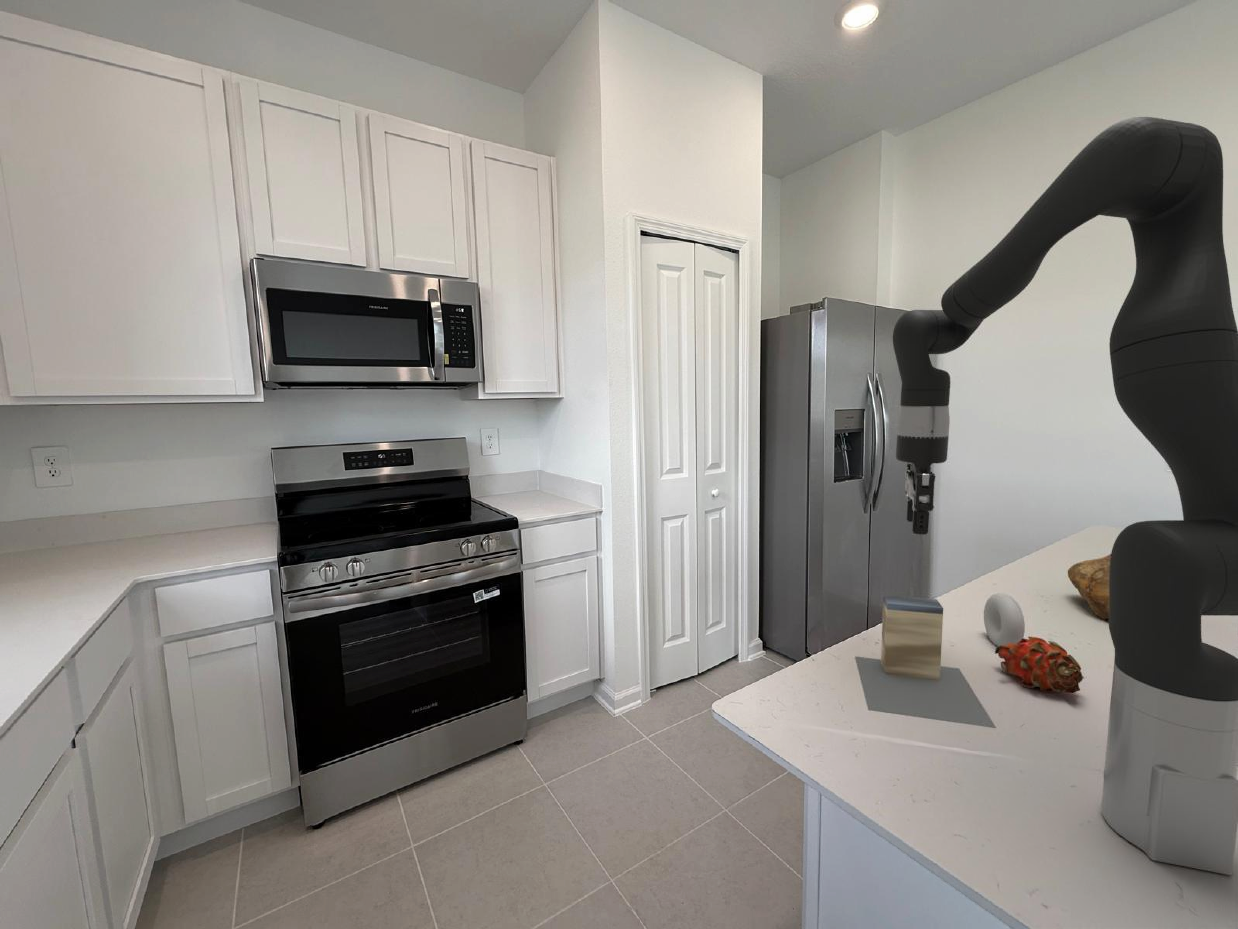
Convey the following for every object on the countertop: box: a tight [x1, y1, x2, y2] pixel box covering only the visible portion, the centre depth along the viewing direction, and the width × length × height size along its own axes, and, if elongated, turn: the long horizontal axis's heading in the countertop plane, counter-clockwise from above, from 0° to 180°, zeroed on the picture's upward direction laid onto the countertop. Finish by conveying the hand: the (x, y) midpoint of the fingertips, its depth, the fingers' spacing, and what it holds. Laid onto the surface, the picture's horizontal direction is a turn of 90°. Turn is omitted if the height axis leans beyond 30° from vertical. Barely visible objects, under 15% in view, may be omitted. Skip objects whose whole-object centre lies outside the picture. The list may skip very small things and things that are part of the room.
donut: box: [983, 592, 1026, 648], centre depth 97 cm, size 10×3×10 cm, turn 168°
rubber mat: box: [854, 656, 997, 729], centre depth 83 cm, size 17×16×1 cm
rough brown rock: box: [1067, 553, 1111, 620], centre depth 112 cm, size 23×17×15 cm
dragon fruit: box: [992, 636, 1085, 694], centre depth 84 cm, size 8×8×12 cm
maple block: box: [880, 594, 944, 680], centre depth 88 cm, size 4×8×12 cm, turn 72°
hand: (916, 527), depth 91 cm, fingers open, 8 cm apart
